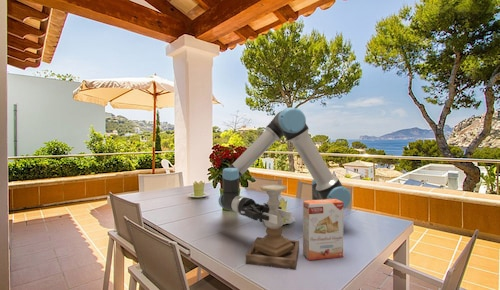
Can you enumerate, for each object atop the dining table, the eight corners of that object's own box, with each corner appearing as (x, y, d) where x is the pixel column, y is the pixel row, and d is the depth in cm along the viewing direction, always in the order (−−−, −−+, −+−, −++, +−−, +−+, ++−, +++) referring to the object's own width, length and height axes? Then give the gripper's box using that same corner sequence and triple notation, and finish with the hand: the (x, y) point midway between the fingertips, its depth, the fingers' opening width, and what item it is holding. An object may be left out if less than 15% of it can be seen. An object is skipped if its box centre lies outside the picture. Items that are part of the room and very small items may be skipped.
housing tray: (299, 248, 103) (299, 240, 103) (295, 269, 86) (295, 260, 86) (257, 244, 107) (257, 237, 107) (246, 263, 91) (245, 255, 91)
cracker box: (309, 261, 92) (308, 203, 91) (302, 254, 98) (302, 199, 97) (344, 257, 94) (344, 201, 94) (335, 250, 100) (335, 197, 100)
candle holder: (253, 249, 97) (253, 186, 96) (272, 241, 104) (271, 183, 104) (276, 258, 89) (275, 190, 89) (294, 248, 97) (294, 186, 96)
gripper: (261, 210, 117) (300, 222, 99) (225, 219, 104) (264, 234, 86) (260, 194, 117) (300, 203, 99) (225, 201, 104) (263, 212, 86)
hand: (283, 217), depth 93 cm, fingers closed on candle holder, 7 cm apart
